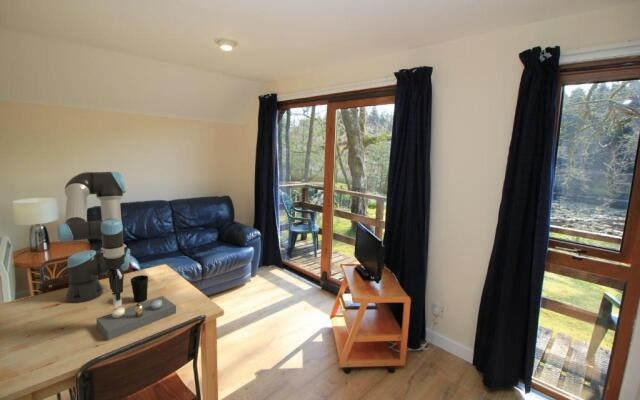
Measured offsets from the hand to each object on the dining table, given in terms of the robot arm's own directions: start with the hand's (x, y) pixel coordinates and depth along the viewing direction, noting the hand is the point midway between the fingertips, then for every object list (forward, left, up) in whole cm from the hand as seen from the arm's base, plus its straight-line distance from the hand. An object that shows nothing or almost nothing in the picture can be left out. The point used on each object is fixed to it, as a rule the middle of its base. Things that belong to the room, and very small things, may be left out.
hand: (117, 305), depth 133 cm
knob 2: (+5, +14, -8) cm, 17 cm away
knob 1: (0, 0, -8) cm, 8 cm away
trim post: (+7, +6, -5) cm, 10 cm away
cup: (-15, +15, -9) cm, 23 cm away
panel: (+3, +7, -9) cm, 11 cm away
